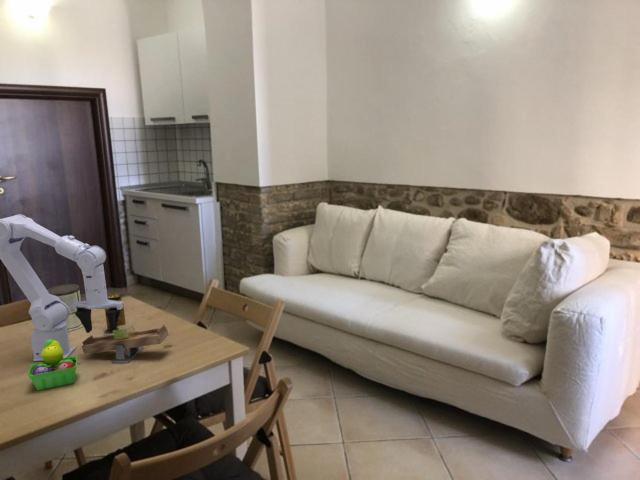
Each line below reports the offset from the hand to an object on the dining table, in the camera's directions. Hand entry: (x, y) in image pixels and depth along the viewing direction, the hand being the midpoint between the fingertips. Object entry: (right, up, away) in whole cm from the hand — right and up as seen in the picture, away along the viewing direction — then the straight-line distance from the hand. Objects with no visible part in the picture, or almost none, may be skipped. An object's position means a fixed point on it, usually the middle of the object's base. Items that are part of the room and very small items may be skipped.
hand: (101, 331), depth 150 cm
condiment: (-4, -4, +22) cm, 22 cm away
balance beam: (+8, -4, 0) cm, 8 cm away
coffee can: (-23, -3, +26) cm, 35 cm away
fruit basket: (-6, -11, -14) cm, 19 cm away
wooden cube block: (+7, -2, 0) cm, 8 cm away
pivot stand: (+8, -7, +1) cm, 11 cm away
